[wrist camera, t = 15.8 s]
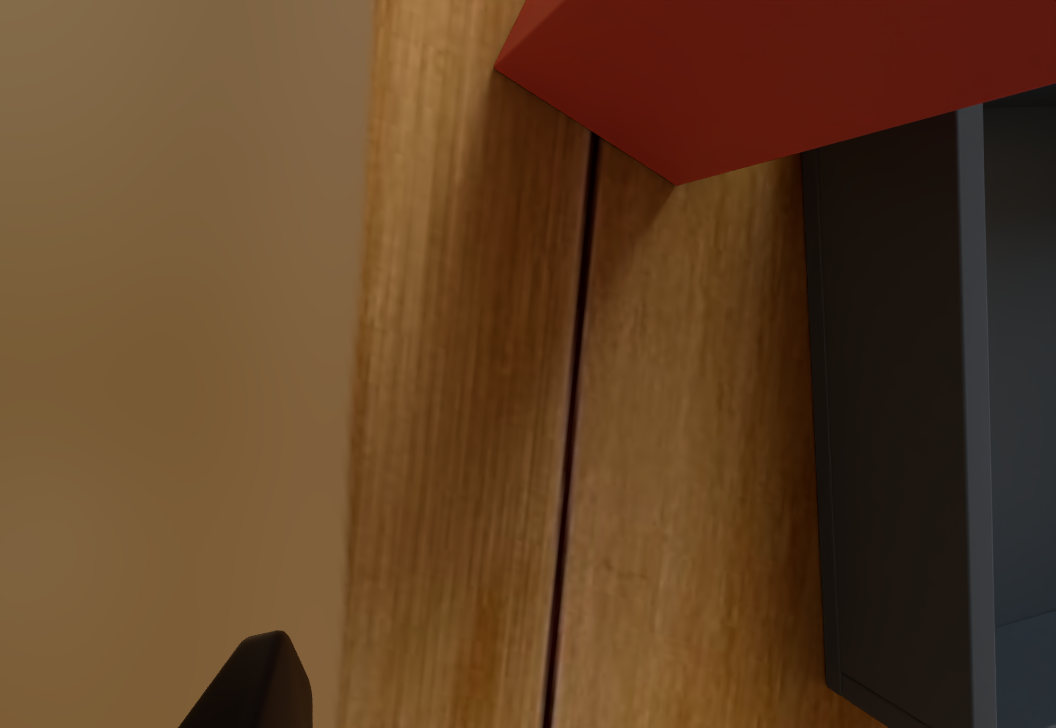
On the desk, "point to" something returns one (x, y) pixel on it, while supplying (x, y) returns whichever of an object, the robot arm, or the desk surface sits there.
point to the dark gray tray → (938, 413)
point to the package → (770, 70)
